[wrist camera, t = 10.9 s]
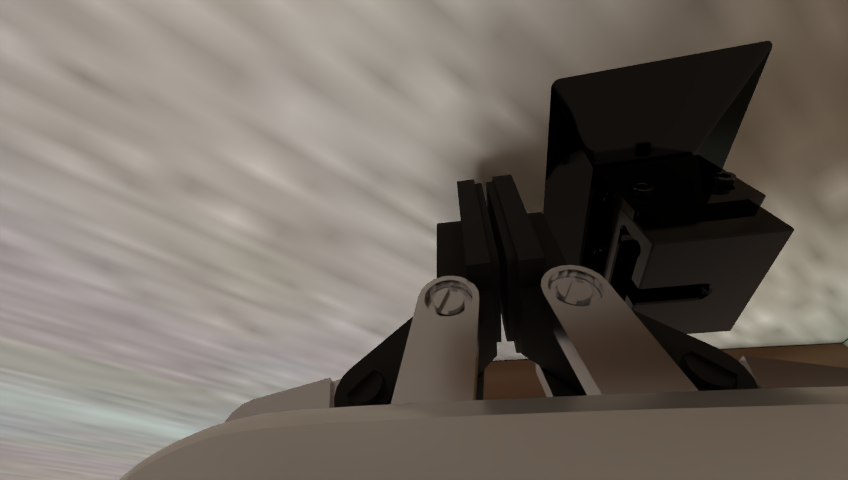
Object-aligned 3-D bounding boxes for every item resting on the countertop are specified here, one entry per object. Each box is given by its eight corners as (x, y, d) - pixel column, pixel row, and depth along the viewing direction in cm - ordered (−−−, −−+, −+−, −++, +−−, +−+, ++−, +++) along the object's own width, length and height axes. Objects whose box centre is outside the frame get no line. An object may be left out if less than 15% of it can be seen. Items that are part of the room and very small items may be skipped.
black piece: (518, 19, 9) (580, 33, 5) (828, -44, 8) (1194, -86, 4) (518, 317, 16) (543, 414, 12) (678, 304, 15) (758, 404, 11)
